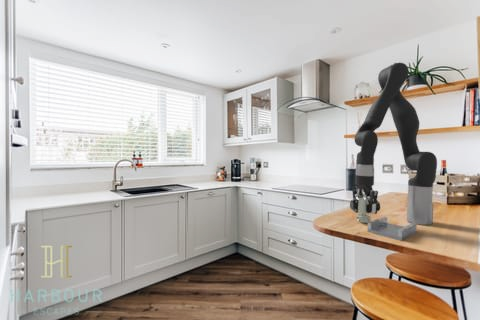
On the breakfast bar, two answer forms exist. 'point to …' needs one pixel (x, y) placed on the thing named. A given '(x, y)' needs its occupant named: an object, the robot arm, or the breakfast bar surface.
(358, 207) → the pneumatic valve
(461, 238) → the breakfast bar surface
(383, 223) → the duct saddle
